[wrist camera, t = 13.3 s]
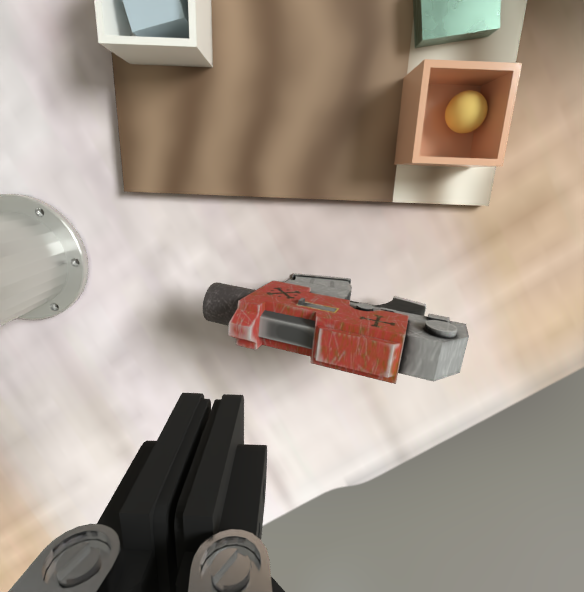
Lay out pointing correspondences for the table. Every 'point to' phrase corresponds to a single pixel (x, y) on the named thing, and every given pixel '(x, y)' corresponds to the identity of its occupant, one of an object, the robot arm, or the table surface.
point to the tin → (454, 20)
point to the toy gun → (340, 327)
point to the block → (158, 18)
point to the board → (296, 106)
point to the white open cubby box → (156, 49)
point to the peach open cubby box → (432, 105)
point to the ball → (466, 111)
